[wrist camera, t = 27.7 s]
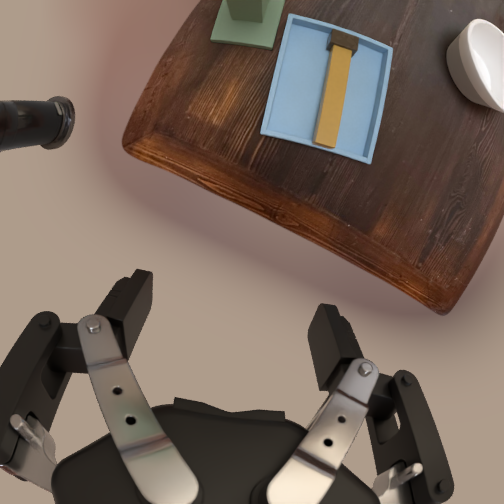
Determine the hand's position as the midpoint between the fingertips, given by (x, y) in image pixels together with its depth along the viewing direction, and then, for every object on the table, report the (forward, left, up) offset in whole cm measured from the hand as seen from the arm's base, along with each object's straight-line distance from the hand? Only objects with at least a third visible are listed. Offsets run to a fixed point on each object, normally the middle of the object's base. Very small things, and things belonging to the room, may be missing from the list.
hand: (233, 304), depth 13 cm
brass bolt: (+8, +19, -32) cm, 38 cm away
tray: (+8, +20, -33) cm, 39 cm away
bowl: (+37, +38, -34) cm, 62 cm away
